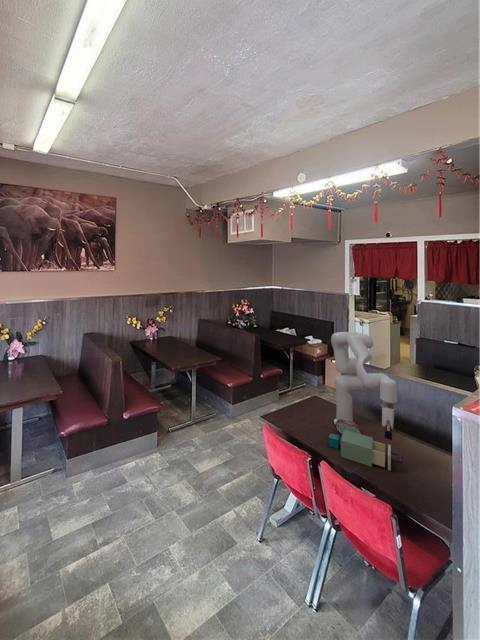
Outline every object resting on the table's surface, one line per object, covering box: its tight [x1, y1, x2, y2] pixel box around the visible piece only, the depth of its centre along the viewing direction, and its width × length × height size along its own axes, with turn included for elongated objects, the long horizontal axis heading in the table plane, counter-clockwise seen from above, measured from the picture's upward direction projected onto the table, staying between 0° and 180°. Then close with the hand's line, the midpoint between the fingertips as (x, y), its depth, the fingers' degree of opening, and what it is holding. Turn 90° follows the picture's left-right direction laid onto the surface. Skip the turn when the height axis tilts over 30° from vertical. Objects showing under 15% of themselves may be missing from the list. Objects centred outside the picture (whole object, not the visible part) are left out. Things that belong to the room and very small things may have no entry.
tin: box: [335, 419, 364, 435], centre depth 184 cm, size 15×3×8 cm, turn 47°
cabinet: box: [340, 430, 374, 468], centre depth 166 cm, size 15×13×9 cm
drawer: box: [372, 440, 403, 471], centre depth 160 cm, size 18×11×7 cm, turn 56°
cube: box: [328, 433, 341, 450], centre depth 175 cm, size 5×5×5 cm
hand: (388, 438), depth 158 cm, fingers closed
